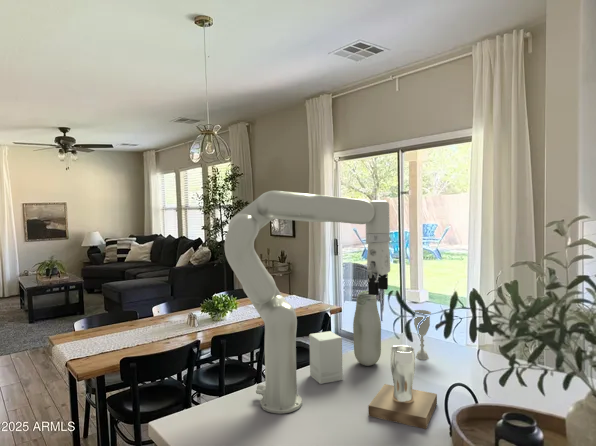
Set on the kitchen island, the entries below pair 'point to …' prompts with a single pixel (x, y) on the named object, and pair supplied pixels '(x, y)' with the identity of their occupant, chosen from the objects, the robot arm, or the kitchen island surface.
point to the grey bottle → (367, 330)
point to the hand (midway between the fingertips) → (378, 291)
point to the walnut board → (403, 407)
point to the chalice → (422, 333)
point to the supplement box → (326, 357)
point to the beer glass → (403, 373)
